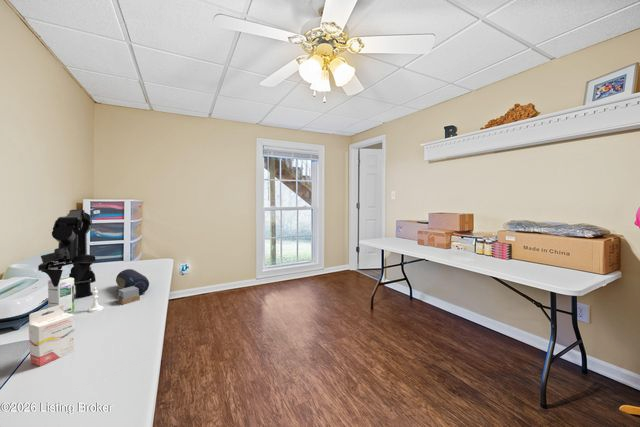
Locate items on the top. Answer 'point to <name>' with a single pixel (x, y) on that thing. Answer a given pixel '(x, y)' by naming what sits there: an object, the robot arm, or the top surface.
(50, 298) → the syrup box
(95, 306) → the chess piece
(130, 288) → the slate top block
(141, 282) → the portable speaker
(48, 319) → the ink cartridge box
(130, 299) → the walnut base block
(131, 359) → the top surface
